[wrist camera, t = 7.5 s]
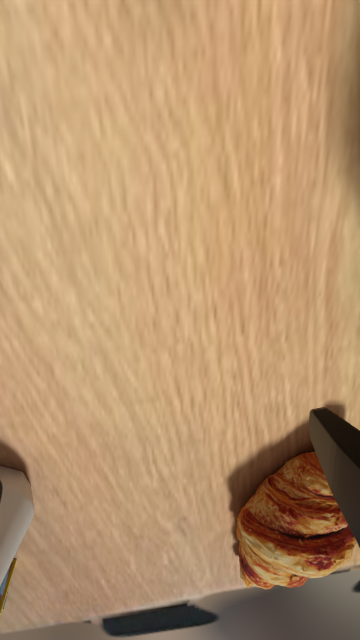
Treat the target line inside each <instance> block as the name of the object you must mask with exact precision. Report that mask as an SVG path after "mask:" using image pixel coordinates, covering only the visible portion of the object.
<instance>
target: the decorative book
mask: <svg viewBox="0 0 360 640" xmlns="http://www.w3.org/2000/svg"><path fill="white" fill-rule="evenodd" d="M15 563H16V559H13V560H12V563H11V565H10V567H9V569H8V571H7V573H6V575H5V577H4V579H3V581H2V584H1V586H0V615H1V612H2V609H4V605H5V602H6V597H7V593H8V588H9V585H10V581H11V578H12V575H13V571H14V568H15Z"/></svg>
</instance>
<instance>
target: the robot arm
mask: <svg viewBox="0 0 360 640" xmlns="http://www.w3.org/2000/svg"><path fill="white" fill-rule="evenodd" d="M309 436H310V439H311V442H312V444H313V447H314V449H315V452H316V454H317V457H318V460H319V462H320V465H321V467H322V470H323V472H324V475H325V478H326V480H327V483H328V485H329V488H330V490H331V492H332V494H333V496H334V498H335V500H336V502H337V504H338V506H339V508H340V510H341V512H342V514H343V516H344V518H345V520H346V522H347V524H348V526H349V527H350V529H351V531H352V533H353V535H354V537H355V539H356V541H357V543H358V545H359V547H360V430H358V429H357V428H355V427H354V426H352V425H351V424H349V423H348V422H346V421H345V420H343V419H342V418H341V417H339V416H338V415H336V414H335V413H333V412H332V411H330V410H329V409H327V408H325V407H322V408H316V409H312V410H311V411H310V416H309ZM2 492H3V485H2V482H1V480H0V503H1V497H2Z"/></svg>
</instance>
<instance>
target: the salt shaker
mask: <svg viewBox="0 0 360 640" xmlns="http://www.w3.org/2000/svg"><path fill="white" fill-rule="evenodd" d="M0 480H1V482H2V485H3V492H2V497H1V503H0V586H1V584H2V581H3V579H4V577H5V575H6V573H7V571H8V569H9V567H10V565H11V563H12V560H13V558H14V556H15V554H16V552H17V550H18V548H19V546H20V544H21V542H22V539H23V537H24V535H25V533H26V531H27V529H28V527H29V525H30V523H31V521H32V518H33V516H34V504H33V497H32V490H31V486H30V484H29V482H28V480H27V478H26V476H25V474H24V472H21V471H18V470H14V469H10V468H7V467H3V466H0Z"/></svg>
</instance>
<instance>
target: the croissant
mask: <svg viewBox="0 0 360 640" xmlns="http://www.w3.org/2000/svg"><path fill="white" fill-rule="evenodd" d="M237 520H238V523H237V530H236V534H237V538H238V539H239V541H240V543H239V558H240V559H239V561H240V578H241V579H242V581H243V582H244V584H245V586H247V587H250V586H252V585H253V584H254V585H255V586H257V587H262V588H264V589H271V588H272V587H273V586H274V585H281V586H286V587H298V586H302V585H303V584H304V582H305V581H306V580H307V578H308V577H309V578H318V577H323V576H326V575H329V574H330V573H332V572H333V571H335V570H336V569H338V568H339V567H340V566H342V565H344V564H345V563H346V562H347V561H348V560H349V559H350V557H351V556H352V550H353V548H354V547H355V546H356V544H357V541H356V539H355V537H354V535H353V533H352V531H351V529H350V527H349V526H348V524H347V522H346V520H345V518H344V516H343V514H342V512H341V510H340V508H339V506H338V504H337V502H336V500H335V498H334V496H333V494H332V492H331V490H330V488H329V485H328V483H327V480H326V478H325V475H324V472H323V470H322V467H321V465H320V462H319V460H318V457H317V454H316V452H307V453H305V454H303V453H302V454H300V455H299V456H296V457H293V458H292V459H291V460H288V461H287V462H286V463H285V465H284V466H283V467H282V468H281V469H280V470H279V471H278V472H276V473H275V474H273V475H270V476H269V477H267V478H266V479H265V480H264V481H263V482H262V483H261V485H260V486H259V487H258V489H257V490H256V493H255V494H254V495H253V496H252V497H251V498H250V500H249V501H248V502H247V503H246V505H245V507H243V508H242V509H241V511H240V513H239V515H238V518H237Z"/></svg>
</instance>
